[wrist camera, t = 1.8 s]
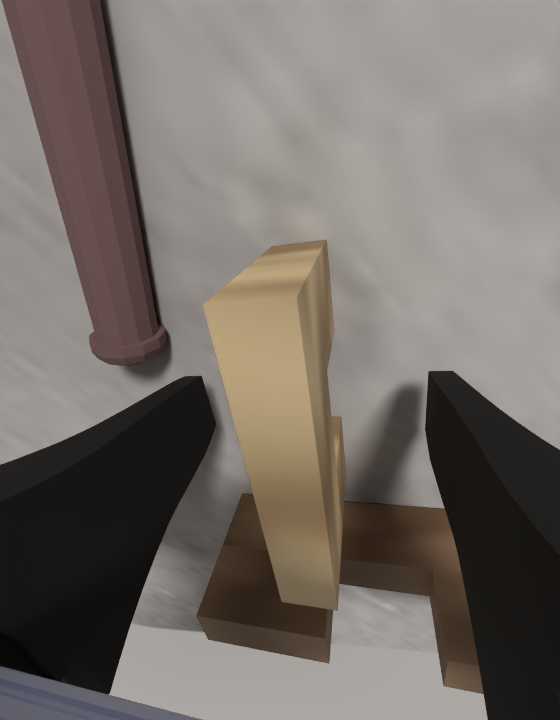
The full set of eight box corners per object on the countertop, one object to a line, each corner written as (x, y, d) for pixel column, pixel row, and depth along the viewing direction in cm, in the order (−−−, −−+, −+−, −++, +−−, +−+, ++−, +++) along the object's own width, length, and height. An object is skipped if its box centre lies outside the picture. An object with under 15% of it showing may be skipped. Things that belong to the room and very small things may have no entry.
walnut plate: (546, 516, 13) (640, 695, 8) (537, 543, 13) (620, 721, 9) (242, 493, 16) (196, 615, 11) (248, 516, 16) (208, 639, 12)
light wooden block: (271, 246, 10) (202, 304, 6) (326, 239, 10) (296, 297, 5) (306, 470, 14) (281, 601, 10) (345, 472, 14) (337, 610, 9)
